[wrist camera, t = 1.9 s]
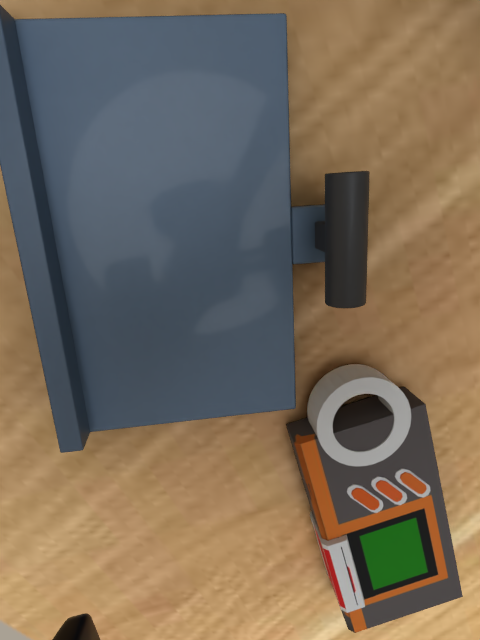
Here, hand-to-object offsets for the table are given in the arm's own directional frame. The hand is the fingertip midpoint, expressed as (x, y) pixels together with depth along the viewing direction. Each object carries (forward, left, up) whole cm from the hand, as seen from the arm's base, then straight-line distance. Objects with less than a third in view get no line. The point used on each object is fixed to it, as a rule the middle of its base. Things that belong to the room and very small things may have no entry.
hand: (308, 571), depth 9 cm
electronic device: (-7, +8, -13) cm, 17 cm away
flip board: (+3, -6, -13) cm, 14 cm away
